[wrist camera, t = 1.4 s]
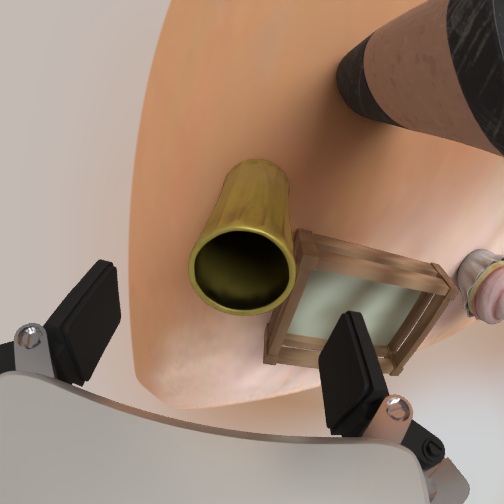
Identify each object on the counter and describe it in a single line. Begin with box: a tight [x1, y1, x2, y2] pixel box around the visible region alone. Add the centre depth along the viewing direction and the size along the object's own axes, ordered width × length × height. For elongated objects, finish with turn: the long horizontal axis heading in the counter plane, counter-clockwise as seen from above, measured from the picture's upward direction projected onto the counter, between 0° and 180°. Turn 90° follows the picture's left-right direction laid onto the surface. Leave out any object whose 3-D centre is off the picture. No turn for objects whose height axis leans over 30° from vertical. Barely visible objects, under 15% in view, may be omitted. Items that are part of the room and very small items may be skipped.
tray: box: [263, 228, 459, 376], centre depth 29 cm, size 18×14×5 cm
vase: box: [188, 159, 296, 316], centre depth 20 cm, size 6×6×14 cm
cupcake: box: [457, 249, 504, 324], centre depth 24 cm, size 9×9×10 cm
